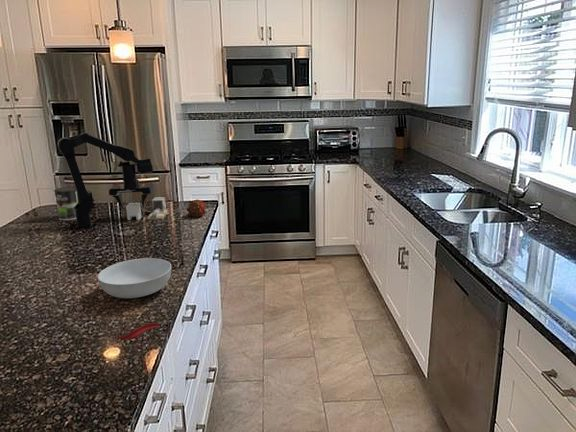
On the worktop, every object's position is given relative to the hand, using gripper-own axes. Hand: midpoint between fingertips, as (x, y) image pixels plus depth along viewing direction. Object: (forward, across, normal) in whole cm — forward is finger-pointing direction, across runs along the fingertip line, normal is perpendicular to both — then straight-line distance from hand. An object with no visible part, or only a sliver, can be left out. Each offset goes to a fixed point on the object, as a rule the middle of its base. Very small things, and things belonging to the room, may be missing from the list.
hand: (133, 208), depth 218 cm
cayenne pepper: (+6, -26, +109) cm, 113 cm away
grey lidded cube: (+5, 0, 0) cm, 5 cm away
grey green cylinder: (+5, +32, -8) cm, 33 cm away
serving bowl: (+5, -20, +84) cm, 86 cm away
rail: (+5, -10, -4) cm, 12 cm away
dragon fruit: (+5, -29, 0) cm, 30 cm away
